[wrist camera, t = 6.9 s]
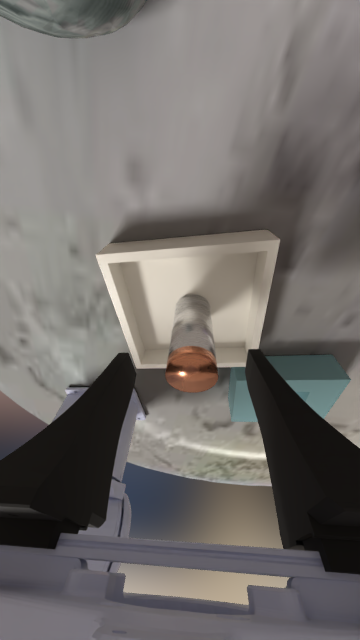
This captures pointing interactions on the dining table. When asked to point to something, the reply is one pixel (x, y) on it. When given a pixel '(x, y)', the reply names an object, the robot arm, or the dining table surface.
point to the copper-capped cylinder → (192, 346)
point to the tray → (191, 290)
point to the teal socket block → (293, 383)
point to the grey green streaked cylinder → (71, 16)
